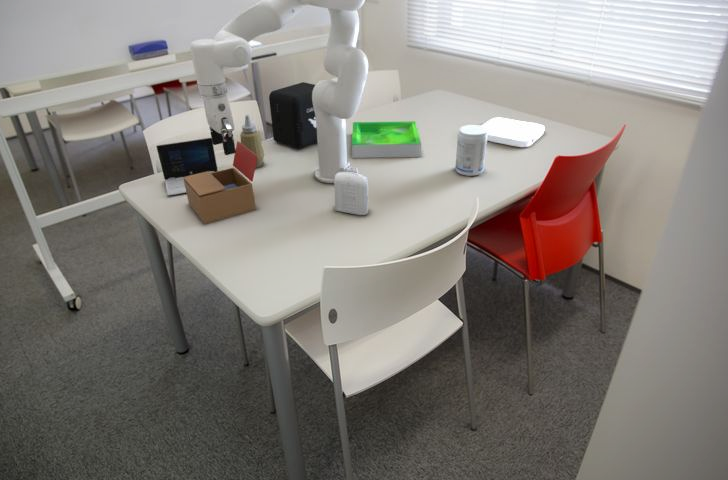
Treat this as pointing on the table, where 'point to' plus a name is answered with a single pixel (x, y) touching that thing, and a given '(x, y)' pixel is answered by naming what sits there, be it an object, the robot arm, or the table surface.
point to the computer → (513, 132)
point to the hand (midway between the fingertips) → (224, 148)
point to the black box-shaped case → (293, 115)
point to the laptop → (185, 162)
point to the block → (229, 187)
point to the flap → (245, 161)
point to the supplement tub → (471, 150)
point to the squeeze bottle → (252, 140)
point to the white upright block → (351, 193)
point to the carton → (219, 194)
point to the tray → (385, 139)
